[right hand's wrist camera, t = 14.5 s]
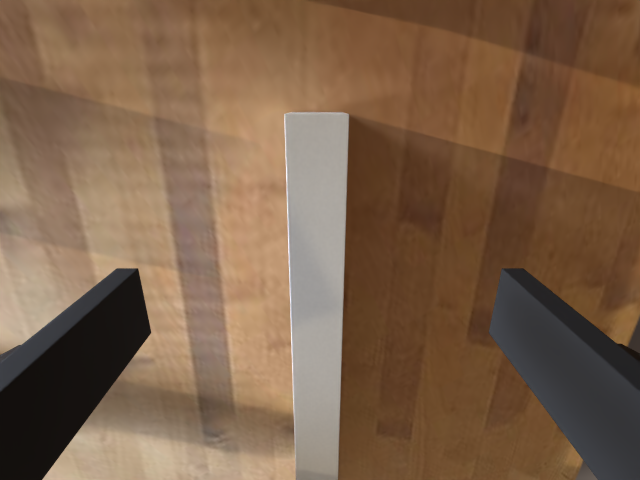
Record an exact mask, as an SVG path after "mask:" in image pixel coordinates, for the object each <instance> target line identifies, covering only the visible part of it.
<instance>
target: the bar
mask: <svg viewBox="0 0 640 480" xmlns="http://www.w3.org/2000/svg"><path fill="white" fill-rule="evenodd" d="M348 136H349V114H347V113H343V112H291V113H287V114H285V145H286V177H287V209H288V241H289V273H290V305H291V337H292V369H293V401H294V433H295V465H296V480H338V462H339V429H340V397H341V364H342V332H343V299H344V267H345V234H346V201H347V169H348Z"/></svg>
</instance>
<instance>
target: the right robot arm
mask: <svg viewBox="0 0 640 480" xmlns="http://www.w3.org/2000/svg"><path fill="white" fill-rule="evenodd" d="M150 334H151V329H150V324H149V319H148V315H147V310H146V305H145V300H144V295H143V290H142V285H141V280H140V276H139V271H138V269H116V270H114V271H113V272H112V273H111V274H109V275H108V276H107V277H106V278H104V279H103V280H102V281H101V282H99V283H98V284H97V285H96V286H94V287H93V288H92V289H91V290H89V291H88V292H87V293H86V294H85V295H83V296H82V297H81V298H80V299H78V300H77V301H76V302H75V303H73V304H72V305H71V306H70V307H68V308H67V309H66V310H65V311H63V312H62V313H61V314H60V315H58V316H57V317H56V318H55V319H53V320H52V321H51V322H50V323H48V324H47V325H46V326H45V327H43V328H42V329H41V330H40V331H38V332H37V333H36V334H35V335H33V336H32V337H31V338H30V339H28V340H27V341H26V342H25V343H23V344H22V345H18V346H16V347H15V348H13V349H11V350H9V351H7V352H5V353H3V354H1V355H0V480H42V479H43V478H44V476H45V475H46V474H47V472H48V471H49V470H50V468H51V467H52V466H53V464H54V463H55V462H56V460H57V459H58V458H59V456H60V455H61V453H62V452H63V451H64V449H65V448H66V447H67V445H68V444H69V443H70V441H71V440H72V439H73V437H74V436H75V435H76V433H77V432H78V431H79V429H80V428H81V427H82V425H83V424H84V423H85V421H86V420H87V418H88V417H89V416H90V414H91V413H92V412H93V410H94V409H95V408H96V406H97V405H98V404H99V402H100V401H101V400H102V398H103V397H104V396H105V394H106V393H107V392H108V390H109V389H110V388H111V386H112V385H113V383H114V382H115V381H116V379H117V378H118V377H119V375H120V374H121V373H122V371H123V370H124V369H125V367H126V366H127V365H128V363H129V362H130V361H131V359H132V358H133V357H134V355H135V354H136V353H137V351H138V350H139V348H140V347H141V346H142V344H143V343H144V342H145V340H146V339H147V338H148V336H149V335H150ZM489 334H490V335H491V336H492V338H493V339H494V340H495V342H496V343H497V344H498V346H499V347H500V348H501V350H502V351H503V353H504V354H505V355H506V357H507V358H508V359H509V361H510V362H511V363H512V365H513V366H514V367H515V369H516V370H517V371H518V373H519V374H520V375H521V377H522V378H523V379H524V381H525V382H526V383H527V385H528V386H529V388H530V389H531V390H532V392H533V393H534V394H535V396H536V397H537V398H538V400H539V401H540V402H541V404H542V405H543V406H544V408H545V409H546V410H547V412H548V413H549V414H550V416H551V417H552V418H553V420H554V421H555V423H556V424H557V425H558V427H559V428H560V429H561V431H562V432H563V433H564V435H565V436H566V437H567V439H568V440H569V441H570V443H571V444H572V445H573V447H574V448H575V449H576V451H577V452H578V453H579V455H580V456H581V458H582V459H583V460H584V462H585V463H586V464H587V466H588V467H589V468H590V470H591V471H592V472H593V474H594V475H595V476H596V478H597V479H598V480H640V353H638V352H636V351H634V350H632V349H630V348H628V347H626V346H624V345H623V344H617V343H615V342H614V341H613V340H612V339H610V338H609V337H608V336H607V335H605V334H604V333H603V332H602V331H600V330H599V329H598V328H597V327H595V326H594V325H593V324H592V323H590V322H589V321H588V320H587V319H585V318H584V317H583V316H582V315H580V314H579V313H578V312H577V311H575V310H574V309H573V308H572V307H570V306H569V305H568V304H567V303H565V302H564V301H563V300H562V299H560V298H559V297H558V296H557V295H555V294H554V293H553V292H552V291H551V290H549V289H548V288H547V287H546V286H544V285H543V284H542V283H541V282H539V281H538V280H537V279H536V278H534V277H533V276H532V275H531V274H529V273H528V272H527V271H526V270H524V269H502V271H501V276H500V280H499V285H498V290H497V295H496V300H495V305H494V310H493V315H492V319H491V324H490V329H489Z"/></svg>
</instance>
